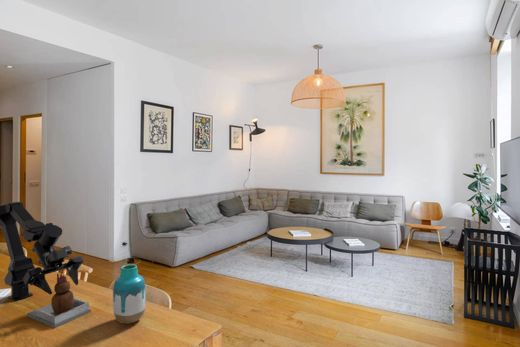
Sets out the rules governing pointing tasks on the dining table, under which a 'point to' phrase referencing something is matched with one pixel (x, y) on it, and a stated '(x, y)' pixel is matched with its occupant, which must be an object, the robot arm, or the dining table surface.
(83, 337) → the dining table surface
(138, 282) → the vase
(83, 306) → the grey shallow rectangular tray
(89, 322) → the dining table surface
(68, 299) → the wooden figurine
